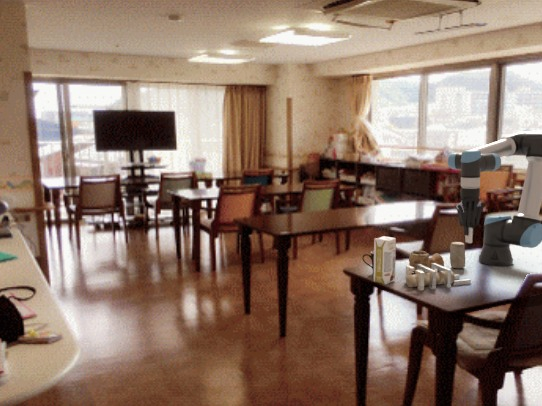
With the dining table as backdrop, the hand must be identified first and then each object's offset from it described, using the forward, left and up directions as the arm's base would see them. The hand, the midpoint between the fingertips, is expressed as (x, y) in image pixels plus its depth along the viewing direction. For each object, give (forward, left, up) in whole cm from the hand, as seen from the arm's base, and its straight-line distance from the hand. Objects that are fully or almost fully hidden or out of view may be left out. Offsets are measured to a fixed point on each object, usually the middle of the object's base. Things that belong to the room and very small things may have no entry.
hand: (468, 242), depth 209 cm
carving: (-9, -19, -17) cm, 27 cm away
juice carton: (+34, -10, -17) cm, 39 cm away
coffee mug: (+31, -22, -17) cm, 42 cm away
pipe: (+10, -16, -17) cm, 25 cm away
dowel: (+18, 0, -17) cm, 25 cm away
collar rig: (+14, 0, -17) cm, 22 cm away
